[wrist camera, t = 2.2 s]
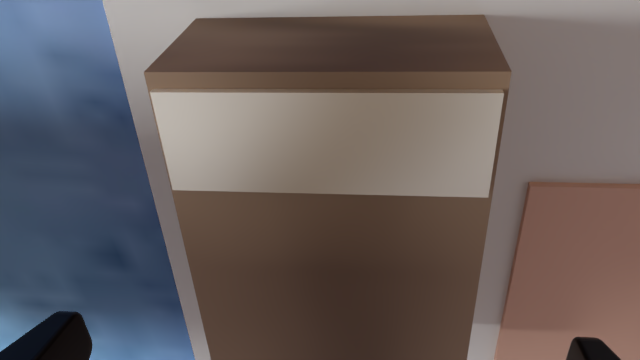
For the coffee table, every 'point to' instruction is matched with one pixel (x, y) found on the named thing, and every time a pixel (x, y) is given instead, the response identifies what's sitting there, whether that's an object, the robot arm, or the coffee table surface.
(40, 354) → the robot arm
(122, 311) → the coffee table surface
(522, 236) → the mat
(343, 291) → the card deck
